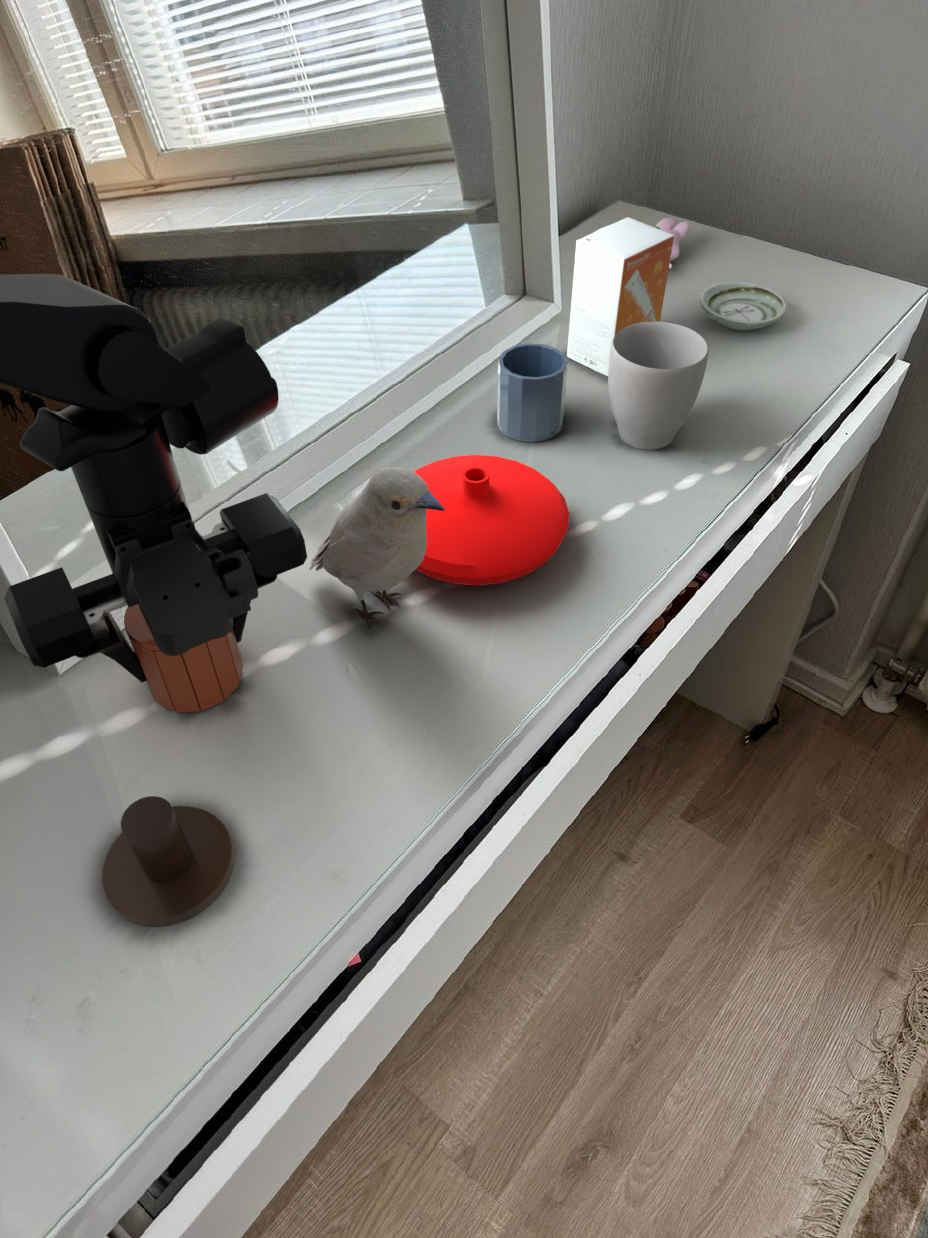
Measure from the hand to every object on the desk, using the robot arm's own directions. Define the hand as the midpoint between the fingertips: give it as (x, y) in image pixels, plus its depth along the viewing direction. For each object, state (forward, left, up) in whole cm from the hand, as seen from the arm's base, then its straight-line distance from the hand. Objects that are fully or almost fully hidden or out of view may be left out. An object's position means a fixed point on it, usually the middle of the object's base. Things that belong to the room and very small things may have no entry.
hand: (189, 658), depth 67 cm
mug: (+50, +7, -3) cm, 51 cm away
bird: (+15, -1, -3) cm, 15 cm away
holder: (-7, -14, -2) cm, 16 cm away
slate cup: (+40, +14, -2) cm, 43 cm away
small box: (+55, +20, -3) cm, 59 cm away
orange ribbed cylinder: (0, 0, -2) cm, 2 cm away
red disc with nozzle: (+26, +2, -3) cm, 26 cm away
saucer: (+72, +18, -3) cm, 74 cm away
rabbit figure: (+73, +34, -3) cm, 81 cm away
